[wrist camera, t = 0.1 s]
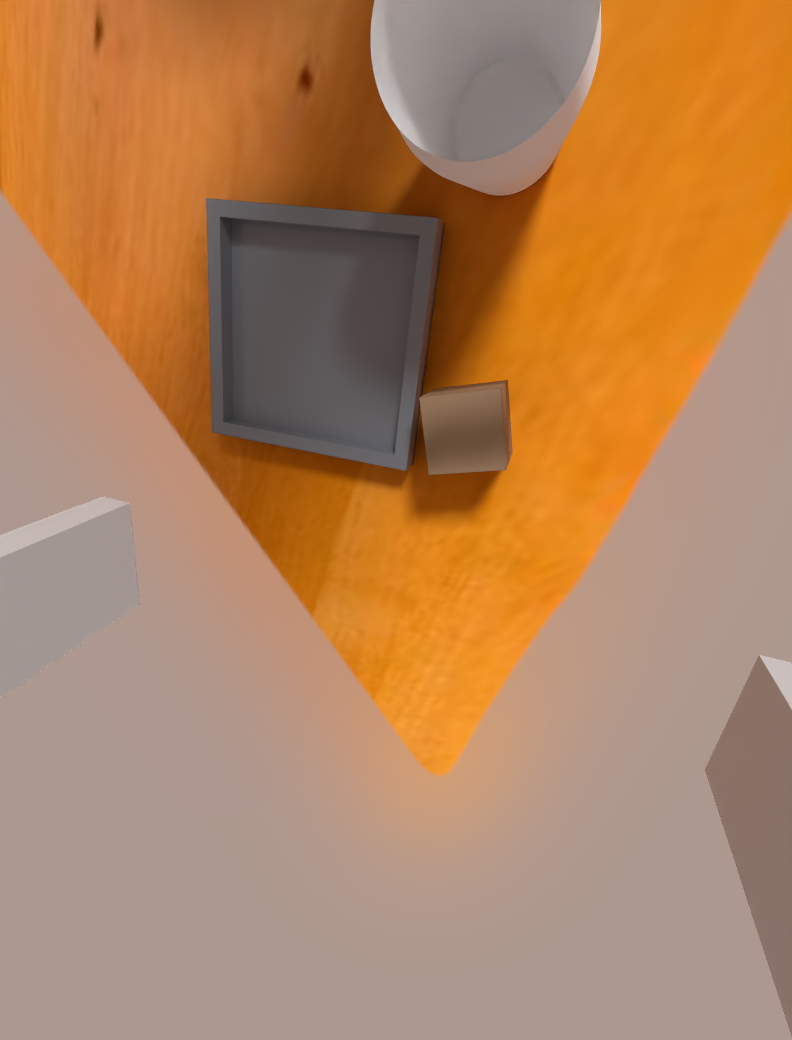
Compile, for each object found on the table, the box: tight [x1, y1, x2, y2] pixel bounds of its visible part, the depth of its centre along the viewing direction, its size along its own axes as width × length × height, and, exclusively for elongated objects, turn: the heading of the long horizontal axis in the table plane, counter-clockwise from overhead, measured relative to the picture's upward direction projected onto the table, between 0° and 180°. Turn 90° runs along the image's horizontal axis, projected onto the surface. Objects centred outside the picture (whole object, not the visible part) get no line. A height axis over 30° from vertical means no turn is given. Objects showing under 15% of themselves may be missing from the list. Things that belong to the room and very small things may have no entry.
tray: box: [206, 198, 445, 471], centre depth 37 cm, size 16×16×2 cm
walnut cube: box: [419, 380, 512, 475], centre depth 34 cm, size 5×5×5 cm
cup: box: [371, 0, 601, 196], centre depth 25 cm, size 9×9×12 cm
